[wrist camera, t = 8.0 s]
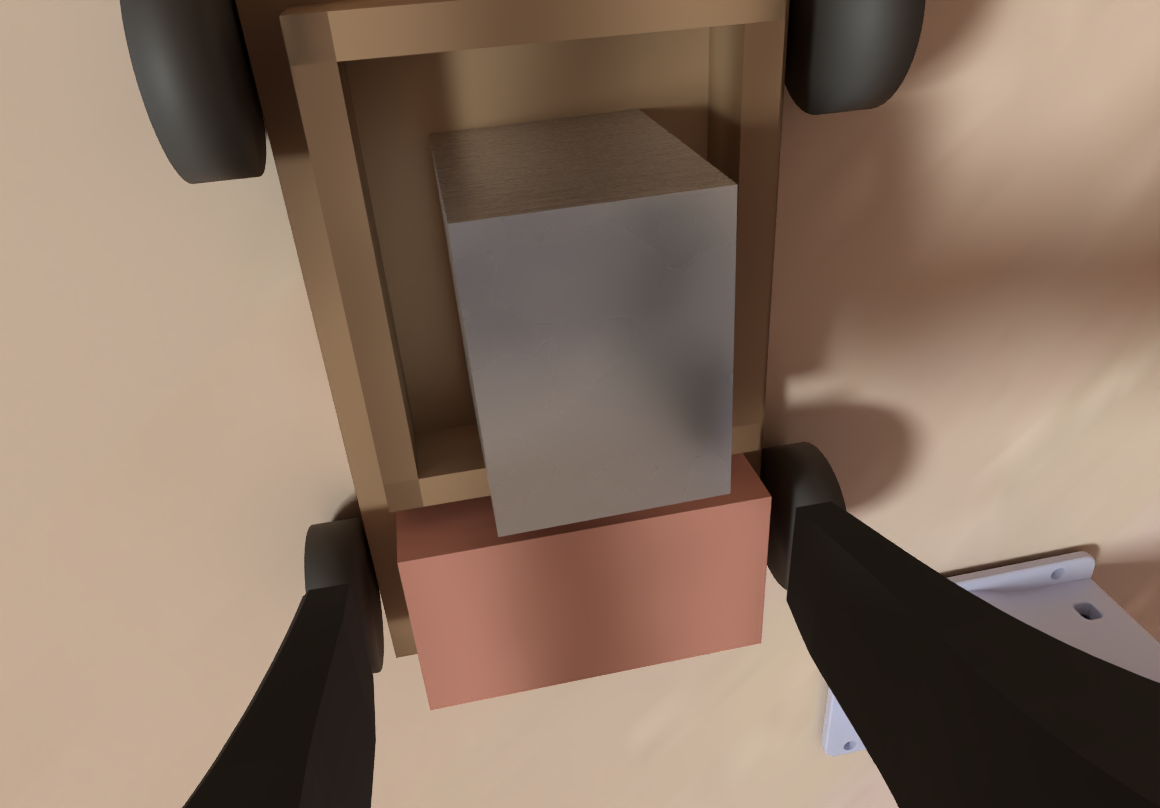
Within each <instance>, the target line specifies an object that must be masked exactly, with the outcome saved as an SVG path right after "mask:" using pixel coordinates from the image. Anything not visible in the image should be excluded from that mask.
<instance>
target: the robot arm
mask: <svg viewBox="0 0 1160 808" xmlns="http://www.w3.org/2000/svg"><path fill="white" fill-rule="evenodd" d="M1095 562H1096V561H1095V559H1094V558H1093V557H1092V556H1091V555H1090V554H1089V553H1087V552H1085V551H1079V552H1074V553H1069V554H1064V555H1059V556H1054V557H1049V558H1044V559H1039V560H1033V561H1028V562H1023V563H1018V564H1013V565H1008V566H1003V567H998V568H993V569H988V570H983V571H978V572H973V573H968V574H963V575H958V576H953V577H948V578H946V577H944V576H943V575H941V574H940V573H938V572H936V571H935V570H933V569H932V568H930V567H929V566H927V565H926V564H924V563H922V562H921V561H919V560H918V559H916V558H915V557H913V556H912V555H910V554H909V553H907V552H906V551H904V550H903V549H901V548H900V547H898V546H897V545H895V544H894V543H892V542H891V541H889V540H888V539H886V538H885V537H883V536H882V535H880V534H879V533H878V532H876V531H875V530H873V529H872V528H870V527H869V526H867V525H866V524H864V523H863V522H861V521H860V520H858V519H857V518H855V517H854V516H853V515H851V514H850V513H848V512H847V511H845V510H843V509H842V508H840V507H839V506H837V505H836V504H834V503H833V502H831V501H830V502H825V503H819V504H813V505H807V506H801V507H796V512H795V522H794V532H793V541H792V551H791V561H790V571H789V581H788V590H787V602H788V605H789V607H790V610H791V612H792V614H793V617H794V619H795V622H796V624H797V626H798V629H799V631H800V633H801V636H802V638H803V640H804V642H805V644H806V647H807V649H808V651H809V653H810V655H811V657H812V659H813V661H814V662H815V664H816V666H817V667H818V669H819V671H820V673H821V674H822V676H823V678H824V679H825V681H826V683H827V684H828V686H829V690H828V697H827V705H826V712H825V720H824V727H823V734H822V742H821V745H822V748H823V750H824V752H825V753H826V754H827V755H829V756H838V755H843V754H847V753H852V752H856V751H861V750H865V749H867V751H868V753H869V754H870V756H871V758H872V759H873V761H874V763H875V764H876V766H877V768H878V769H879V771H880V773H881V775H882V777H883V778H884V780H885V782H886V784H887V786H888V787H889V789H890V791H891V793H892V795H893V797H894V799H895V801H896V803H897V805H898V807H899V808H1160V643H1159V642H1158V641H1157V640H1156V639H1155V638H1154V637H1153V636H1152V635H1151V634H1149V633H1148V632H1147V631H1146V630H1145V629H1144V628H1143V627H1142V626H1141V625H1140V624H1139V623H1138V622H1137V621H1136V620H1135V619H1133V618H1132V617H1131V616H1130V615H1129V614H1128V613H1127V612H1126V611H1125V610H1124V609H1123V608H1122V607H1121V606H1120V605H1119V604H1118V603H1116V602H1115V601H1114V600H1113V599H1112V598H1111V597H1110V596H1109V595H1108V594H1107V593H1106V592H1105V591H1104V590H1103V589H1102V588H1100V587H1099V586H1098V585H1097V584H1096V583H1095V582H1094V581H1093V580H1092V579H1091V576H1092V573H1093V571H1094V568H1095ZM375 742H376V735H375V705H374V682H373V674H372V670H371V666H370V662H369V658H368V654H367V650H366V646H365V642H364V638H363V634H362V630H361V626H360V622H359V618H358V614H357V610H356V606H355V602H354V598H353V594H352V590H351V586H350V583H347V584H341V585H336V586H330V587H324V588H318V589H312V590H308V592H307V593H306V594H305V595H304V596H303V598H302V600H301V602H300V605H299V607H298V609H297V612H296V614H295V616H294V618H293V621H292V623H291V625H290V627H289V629H288V631H287V633H286V636H285V638H284V640H283V642H282V644H281V646H280V648H279V650H278V652H277V654H276V656H275V658H274V660H273V662H272V664H271V666H270V667H269V669H268V671H267V673H266V675H265V677H264V678H263V680H262V682H261V684H260V686H259V688H258V689H257V691H256V693H255V695H254V697H253V699H252V700H251V702H250V704H249V706H248V708H247V709H246V711H245V713H244V714H243V716H242V718H241V719H240V721H239V723H238V724H237V726H236V727H235V729H234V731H233V732H232V734H231V736H230V737H229V739H228V740H227V742H226V744H225V745H224V747H223V748H222V750H221V752H220V753H219V755H218V757H217V758H216V760H215V761H214V763H213V764H212V766H211V767H210V769H209V770H208V772H207V773H206V775H205V776H204V778H203V779H202V781H201V782H200V784H199V785H198V786H197V788H196V789H195V791H194V792H193V794H192V795H191V796H190V798H189V799H188V801H187V802H186V803H185V805H184V806H183V807H182V808H371V797H372V784H373V770H374V757H375Z"/></svg>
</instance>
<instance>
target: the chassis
mask: <svg viewBox="0 0 1160 808" xmlns="http://www.w3.org/2000/svg"><path fill="white" fill-rule="evenodd" d="M120 5H121V13H122V19H123V25H124V30H125V36H126V40H127V45H128V49H129V54H130V58H131V62H132V66H133V69H134V73H135V76H136V80H137V83H138V87H139V90H140V93H141V96H142V99H143V102H144V105H145V108H146V110H147V113H148V116H149V119H150V121H151V124H152V126H153V128H154V131H155V133H156V136H157V138H158V140H159V142H160V144H161V146H162V148H163V150H164V152H165V154H166V156H167V158H168V159H169V161H170V163H171V164H172V166H173V167H174V169H175V170H176V171H177V173H178V174H179V175H180V176H181V177H182V178H183V179H184V180H185V181H186V182H188V183H191V184H196V183H205V182H214V181H223V180H232V179H242V178H251V177H259V176H262V174H263V173H264V170H265V164H266V137H265V126H264V119H265V123H266V127H267V131H268V136H269V140H270V144H271V148H272V152H273V156H274V160H275V164H276V168H277V172H278V176H279V180H280V185H281V189H282V193H283V197H284V201H285V205H286V209H287V213H288V217H289V221H290V225H291V229H292V234H293V238H294V242H295V246H296V250H297V254H298V258H299V262H300V266H301V270H302V274H303V279H304V283H305V287H306V291H307V295H308V299H309V303H310V307H311V311H312V315H313V319H314V323H315V328H316V332H317V336H318V340H319V344H320V348H321V352H322V356H323V360H324V364H325V368H326V372H327V377H328V381H329V385H330V389H331V393H332V397H333V401H334V405H335V409H336V413H337V417H338V422H339V426H340V430H341V434H342V438H343V442H344V446H345V450H346V454H347V458H348V462H349V466H350V471H351V475H352V479H353V483H354V487H355V491H356V495H357V499H358V503H359V507H360V511H361V515H362V519H361V518H360V517H356V518H350V519H344V520H339V521H333V522H327V523H321V524H315V525H311V526H310V527H309V529H308V532H307V536H306V542H305V557H304V568H305V588H306V593H307V592H308V590H312V589H318V588H324V587H330V586H336V585H341V584H347V583H350V586H351V590H352V594H353V598H354V602H355V606H356V610H357V614H358V618H359V622H360V626H361V630H362V634H363V638H364V642H365V646H366V650H367V654H368V658H369V662H370V666H371V670H372V673H378V672H380V671H381V669H382V666H383V656H384V638H383V621H382V610H381V601H380V593H381V597H382V601H383V605H384V609H385V614H386V618H387V622H388V626H389V630H390V634H391V638H392V642H393V646H394V650H395V654H396V658H398V657H403V656H408V655H413V654H418V657H419V662H420V666H421V671H422V675H423V679H424V684H425V688H426V693H427V697H428V702H429V706H430V710H434V709H439V708H443V707H448V706H453V705H458V704H463V703H468V702H473V701H478V700H483V699H488V698H493V697H498V696H503V695H507V694H512V693H517V692H522V691H527V690H532V689H537V688H542V687H547V686H552V685H557V684H562V683H567V682H571V681H576V680H581V679H586V678H591V677H596V676H601V675H606V674H611V673H616V672H621V671H626V670H631V669H635V668H640V667H645V666H650V665H655V664H660V663H665V662H670V661H675V660H680V659H685V658H690V657H695V656H699V655H704V654H709V653H714V652H719V651H724V650H729V649H734V648H739V647H744V646H749V645H754V644H758V643H761V637H762V623H763V609H764V596H765V582H766V568H767V566H768V568H769V569H770V571H771V573H772V575H773V576H774V578H775V579H776V581H777V582H778V583H779V584H780V585H781V586H782V587H783V588H784V589H786V590H788V581H789V571H790V561H791V551H792V541H793V532H794V522H795V512H796V507H801V506H807V505H813V504H819V503H825V502H830V501H831V502H833V503H834V504H836V505H837V506H839V507H840V508H842V509H843V510H845V511H846V507H845V502H844V499H843V495H842V492H841V489H840V486H839V484H838V481H837V479H836V476H835V474H834V472H833V470H832V468H831V466H830V464H829V463H828V461H827V459H826V458H825V457H824V455H823V454H822V453H821V452H820V451H819V449H818V448H816V447H815V446H814V445H812V444H810V443H807V442H800V443H794V444H789V445H783V446H777V447H771V448H765V449H762V438H763V422H764V406H765V390H766V374H767V358H768V341H769V325H770V309H771V293H772V277H773V261H774V244H775V228H776V212H777V196H778V180H779V164H780V148H781V131H782V115H783V99H784V83H785V85H786V87H787V90H788V92H789V94H790V96H791V97H792V99H793V101H794V102H795V103H796V105H797V106H798V107H799V108H800V109H801V110H803V111H804V112H806V113H808V114H811V115H819V114H828V113H837V112H846V111H855V110H864V109H872V108H875V107H878V106H880V105H882V104H884V103H885V102H886V101H887V100H888V99H890V98H891V97H892V95H893V94H894V93H895V92H896V91H897V89H898V88H899V86H900V85H901V83H902V82H903V80H904V78H905V76H906V74H907V72H908V70H909V68H910V65H911V63H912V61H913V58H914V55H915V52H916V49H917V46H918V42H919V38H920V33H921V29H922V23H923V17H924V9H925V0H120ZM630 109H639V110H641V111H642V112H643V113H644V114H646V115H647V116H648V117H650V118H651V119H652V120H654V121H655V122H656V123H658V124H659V125H660V126H662V127H663V128H664V129H665V130H667V131H668V132H669V133H671V134H672V135H673V136H675V137H676V138H677V139H679V140H680V141H681V142H683V143H684V144H685V145H686V146H688V147H689V148H690V149H692V150H693V151H694V152H696V153H697V154H698V155H700V156H701V157H702V158H703V159H705V160H706V161H707V162H709V163H710V164H711V165H713V166H714V167H715V168H717V169H718V170H719V171H721V172H722V173H723V174H724V175H726V176H727V177H728V178H730V179H731V180H732V181H734V182H735V183H736V184H738V185H737V229H736V272H735V316H734V359H733V403H732V447H731V490H730V494H725V495H720V496H715V497H709V498H704V499H699V500H693V501H688V502H683V503H677V504H672V505H667V506H661V507H656V508H651V509H645V510H640V511H635V512H630V513H624V514H619V515H614V516H608V517H603V518H598V519H592V520H587V521H582V522H576V523H571V524H566V525H560V526H555V527H550V528H544V529H539V530H534V531H528V532H523V533H518V534H512V535H507V536H502V537H498V534H497V528H496V523H495V517H494V512H493V507H492V501H491V496H490V490H489V485H488V480H487V474H486V469H485V464H484V458H483V453H482V447H481V442H480V437H479V431H478V426H477V420H476V415H475V410H474V404H473V399H472V394H471V388H470V383H469V377H468V370H467V364H466V358H465V352H464V346H463V340H462V334H461V327H460V321H459V315H458V309H457V303H456V297H455V291H454V285H453V278H452V272H451V266H450V260H449V254H448V248H447V242H446V236H445V229H444V223H443V217H442V211H441V205H440V199H439V193H438V187H437V180H436V174H435V168H434V162H433V156H432V150H431V144H430V137H429V134H433V133H442V132H450V131H458V130H466V129H474V128H483V127H491V126H499V125H507V124H515V123H524V122H532V121H540V120H548V119H556V118H565V117H573V116H581V115H589V114H597V113H606V112H614V111H622V110H630ZM263 115H264V118H263ZM379 589H380V593H379Z"/></svg>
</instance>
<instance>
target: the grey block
mask: <svg viewBox="0 0 1160 808" xmlns="http://www.w3.org/2000/svg"><path fill="white" fill-rule="evenodd" d="M429 137H430V144H431V150H432V156H433V162H434V168H435V174H436V180H437V187H438V193H439V199H440V205H441V211H442V217H443V223H444V229H445V236H446V242H447V248H448V254H449V260H450V266H451V272H452V278H453V285H454V291H455V297H456V303H457V309H458V315H459V321H460V327H461V334H462V340H463V346H464V352H465V358H466V364H467V370H468V377H469V383H470V388H471V394H472V399H473V404H474V410H475V415H476V420H477V426H478V431H479V437H480V442H481V447H482V453H483V458H484V464H485V469H486V474H487V480H488V485H489V490H490V496H491V501H492V507H493V512H494V517H495V523H496V528H497V534H498V537H502V536H507V535H512V534H518V533H523V532H528V531H534V530H539V529H544V528H550V527H555V526H560V525H566V524H571V523H576V522H582V521H587V520H592V519H598V518H603V517H608V516H614V515H619V514H624V513H630V512H635V511H640V510H645V509H651V508H656V507H661V506H667V505H672V504H677V503H683V502H688V501H693V500H699V499H704V498H709V497H715V496H720V495H725V494H730V490H731V447H732V403H733V359H734V316H735V272H736V229H737V185H738V184H736V183H735V182H734V181H732V180H731V179H730V178H728V177H727V176H726V175H724V174H723V173H722V172H721V171H719V170H718V169H717V168H715V167H714V166H713V165H711V164H710V163H709V162H707V161H706V160H705V159H703V158H702V157H701V156H700V155H698V154H697V153H696V152H694V151H693V150H692V149H690V148H689V147H688V146H686V145H685V144H684V143H683V142H681V141H680V140H679V139H677V138H676V137H675V136H673V135H672V134H671V133H669V132H668V131H667V130H665V129H664V128H663V127H662V126H660V125H659V124H658V123H656V122H655V121H654V120H652V119H651V118H650V117H648V116H647V115H646V114H644V113H643V112H642V111H641V110H639V109H630V110H622V111H614V112H606V113H597V114H589V115H581V116H573V117H565V118H556V119H548V120H540V121H532V122H524V123H515V124H507V125H499V126H491V127H483V128H474V129H466V130H458V131H450V132H442V133H433V134H429Z"/></svg>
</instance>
